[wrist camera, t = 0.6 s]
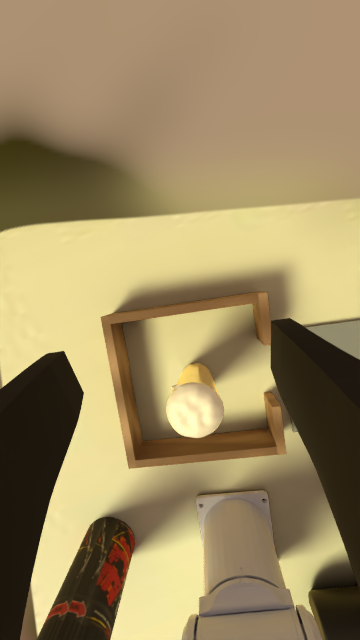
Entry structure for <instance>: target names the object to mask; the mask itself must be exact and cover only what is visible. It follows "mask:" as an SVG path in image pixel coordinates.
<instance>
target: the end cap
mask: <svg viewBox="0 0 360 640" xmlns="http://www.w3.org/2000/svg"><path fill="white" fill-rule="evenodd" d="M309 603H310V606H311V609H312V612H313V615H314V618H315V621H316V623H317V625H318V628H319V631H320V634H321V636H322V639H323V640H360V589H359V586H352V587H339V588H326V589H313V590H311V591H310V592H309Z"/></svg>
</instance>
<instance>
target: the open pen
mask: <svg viewBox="0 0 360 640" xmlns="http://www.w3.org/2000/svg"><path fill="white" fill-rule="evenodd" d="M252 303H253V311H254V319H255V327H256V335H257V339H258V340H259V341H260V342H261V343H262V344H263V345H271V321H270V312H269V304H268V295H267V292H253V293H246V294H239V295H233V296H226V297H219V298H213V299H206V300H199V301H192V302H186V303H179V304H172V305H166V306H159V307H152V308H146V309H139V310H132V311H126V312H119V313H112V314H109V315H106V316H103V317H101V321H102V327H103V332H104V337H105V343H106V348H107V353H108V359H109V364H110V370H111V375H112V380H113V386H114V391H115V396H116V402H117V407H118V413H119V418H120V423H121V429H122V434H123V439H124V445H125V450H126V456H127V461H128V466H129V469H130V468H140V467H151V466H162V465H172V464H183V463H194V462H204V461H215V460H225V459H236V458H247V457H257V456H268V455H279V454H286V447H285V439H284V430H283V422H282V414H281V406H280V405H279V403H278V402H277V400H276V398H275V397H274V395H273V394H272V392H269V393H264V399H265V407H266V415H267V423H268V428H266V429H256V430H247V431H237V432H227V433H218V434H209V435H207V436H204V437H201V438H192V437H179V438H169V439H159V440H150V441H142V435H141V430H140V424H139V418H138V413H137V407H136V401H135V396H134V390H133V385H132V379H131V373H130V368H129V362H128V357H127V351H126V345H125V340H124V334H123V329H122V322H128V321H135V320H142V319H149V318H156V317H163V316H170V315H176V314H183V313H190V312H197V311H204V310H211V309H218V308H224V307H231V306H238V305H245V304H252Z"/></svg>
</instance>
